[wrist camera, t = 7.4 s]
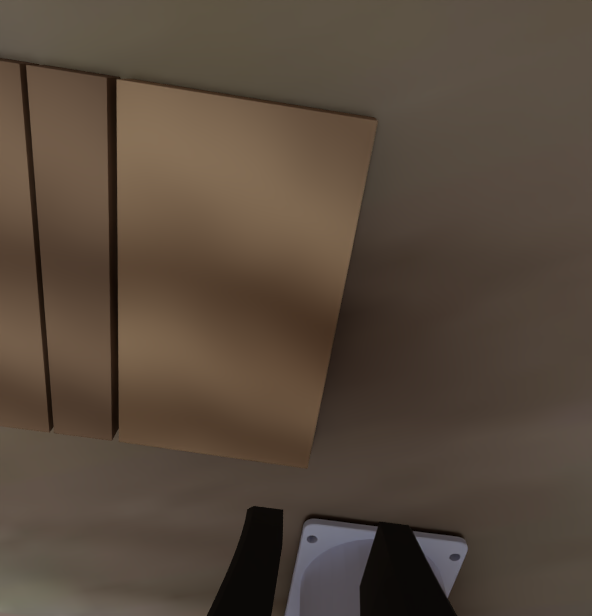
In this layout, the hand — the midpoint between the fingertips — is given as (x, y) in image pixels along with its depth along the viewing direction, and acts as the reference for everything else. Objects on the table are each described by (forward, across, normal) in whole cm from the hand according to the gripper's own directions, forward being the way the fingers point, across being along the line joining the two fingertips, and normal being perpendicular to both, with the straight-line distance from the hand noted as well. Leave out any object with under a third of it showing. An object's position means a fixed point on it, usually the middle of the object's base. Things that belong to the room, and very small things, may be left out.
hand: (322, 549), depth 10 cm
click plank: (+10, +3, -1) cm, 11 cm away
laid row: (+10, +10, -1) cm, 15 cm away
